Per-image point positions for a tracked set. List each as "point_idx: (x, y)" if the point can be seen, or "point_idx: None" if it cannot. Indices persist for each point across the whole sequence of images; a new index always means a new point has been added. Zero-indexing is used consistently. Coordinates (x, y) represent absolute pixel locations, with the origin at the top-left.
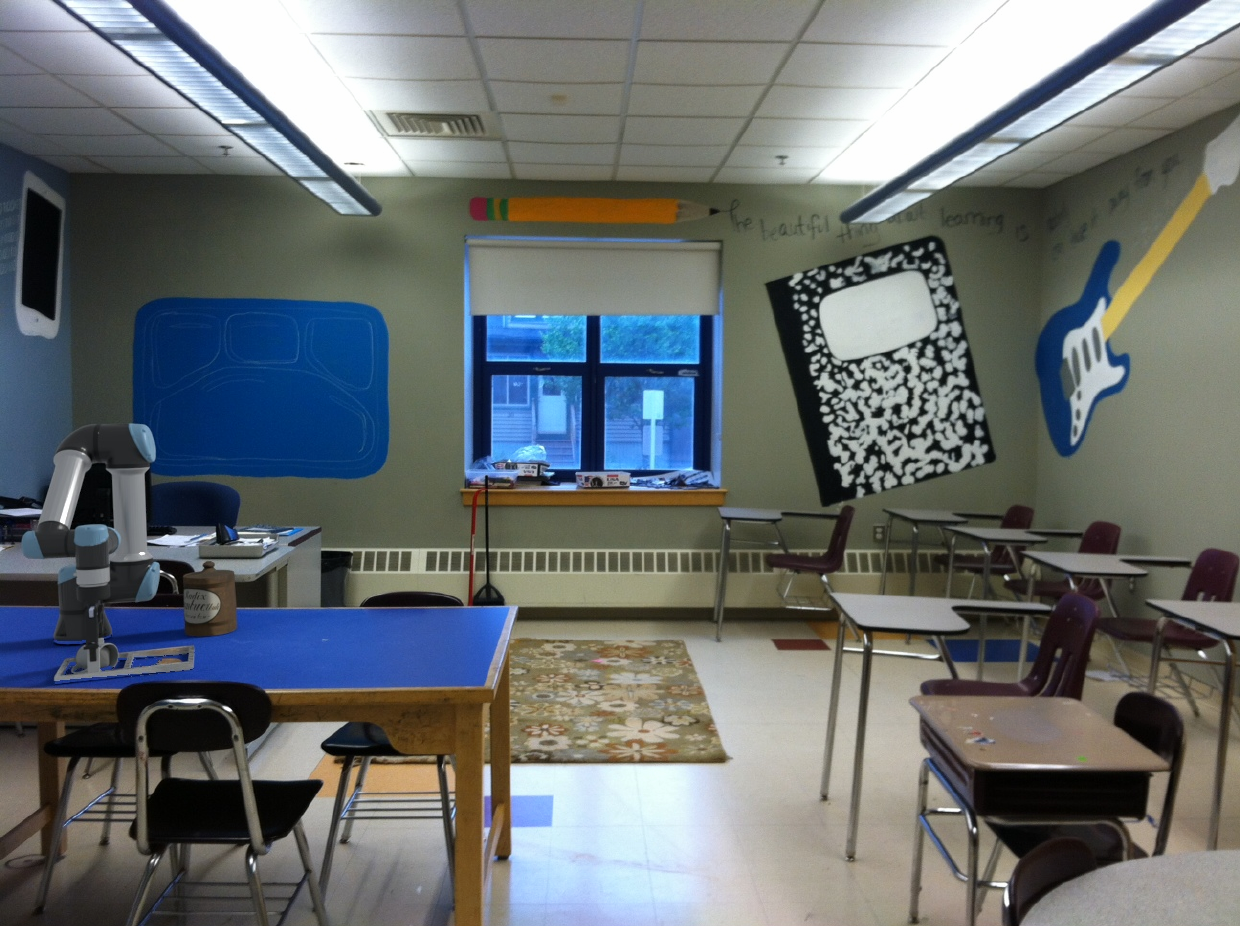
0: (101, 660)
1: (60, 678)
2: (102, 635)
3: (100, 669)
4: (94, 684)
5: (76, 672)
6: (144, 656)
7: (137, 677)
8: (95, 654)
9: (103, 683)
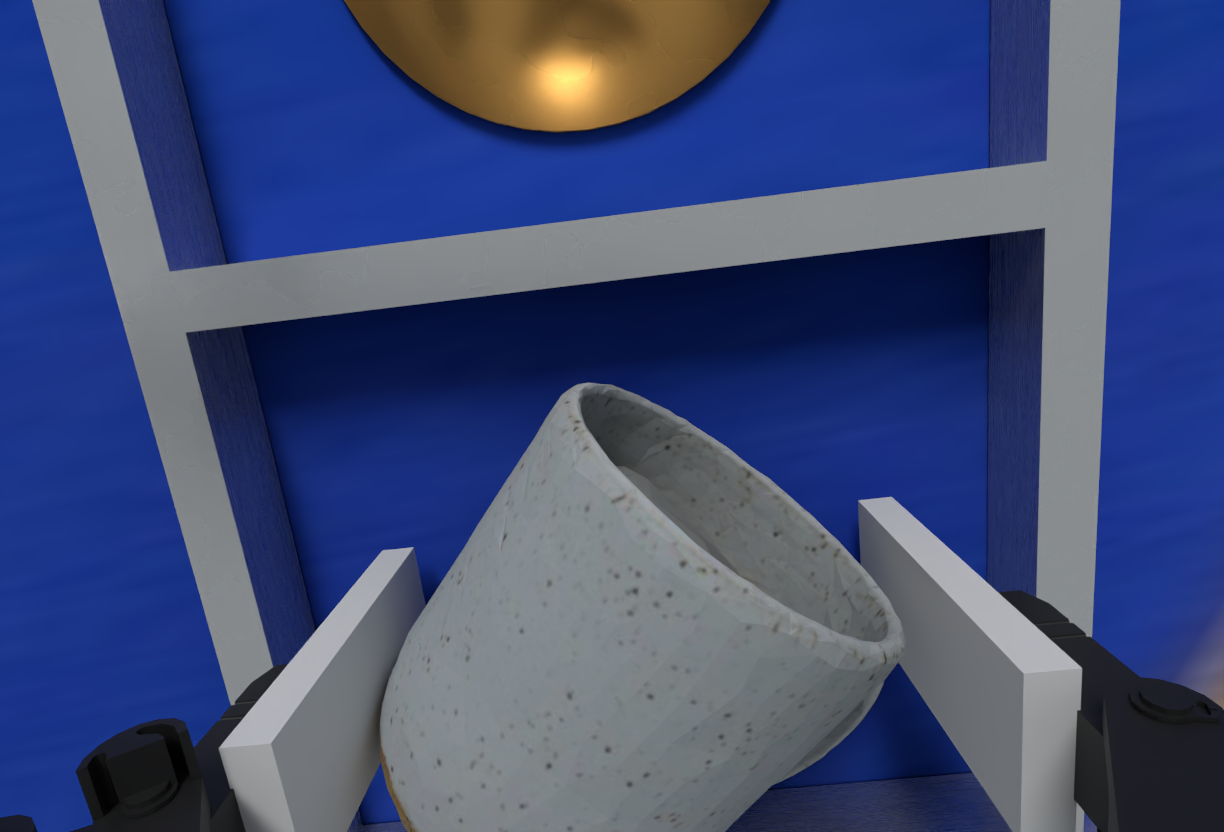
0: (722, 557)
1: None
2: (207, 805)
3: (809, 515)
4: (1196, 470)
5: (860, 720)
6: (182, 145)
7: (1127, 49)
8: (1099, 651)
9: (1204, 388)
